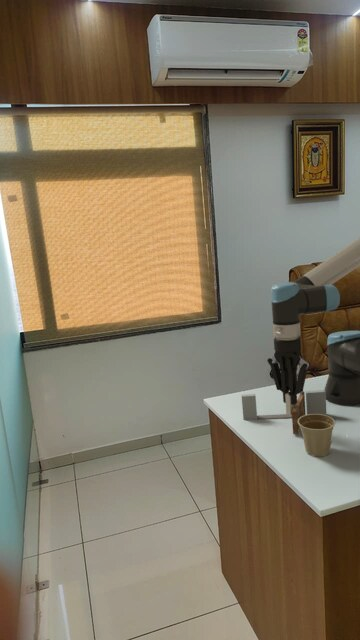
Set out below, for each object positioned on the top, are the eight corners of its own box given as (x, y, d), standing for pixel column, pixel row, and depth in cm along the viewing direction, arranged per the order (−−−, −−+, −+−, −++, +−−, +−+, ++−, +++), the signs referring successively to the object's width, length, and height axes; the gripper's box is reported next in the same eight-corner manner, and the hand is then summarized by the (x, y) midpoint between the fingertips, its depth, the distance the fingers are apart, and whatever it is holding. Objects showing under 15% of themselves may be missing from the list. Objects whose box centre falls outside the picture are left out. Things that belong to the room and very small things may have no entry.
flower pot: (312, 464, 105) (310, 432, 103) (292, 447, 114) (290, 418, 112) (344, 455, 107) (343, 424, 106) (322, 439, 116) (320, 411, 115)
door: (301, 413, 133) (300, 390, 131) (309, 414, 132) (308, 391, 130) (292, 434, 120) (291, 409, 119) (301, 435, 119) (300, 410, 118)
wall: (325, 413, 132) (324, 389, 131) (326, 416, 130) (325, 392, 128) (243, 417, 136) (241, 394, 134) (243, 420, 133) (241, 397, 132)
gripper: (260, 337, 121) (265, 413, 125) (301, 342, 112) (304, 423, 116) (274, 332, 126) (278, 404, 130) (314, 336, 117) (317, 414, 121)
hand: (290, 413), depth 123 cm, fingers closed
